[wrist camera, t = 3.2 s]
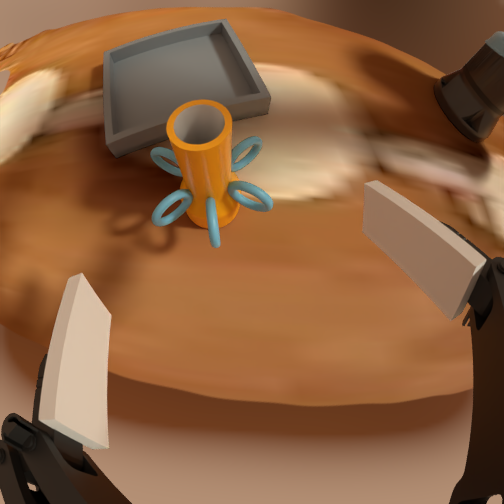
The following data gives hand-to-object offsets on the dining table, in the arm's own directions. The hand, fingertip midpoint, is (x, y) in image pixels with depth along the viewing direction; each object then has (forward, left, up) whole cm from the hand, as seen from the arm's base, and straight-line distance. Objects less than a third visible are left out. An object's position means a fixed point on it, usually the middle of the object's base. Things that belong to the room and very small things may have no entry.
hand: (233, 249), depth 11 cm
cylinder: (-1, -8, -18) cm, 20 cm away
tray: (-1, -28, -17) cm, 33 cm away
